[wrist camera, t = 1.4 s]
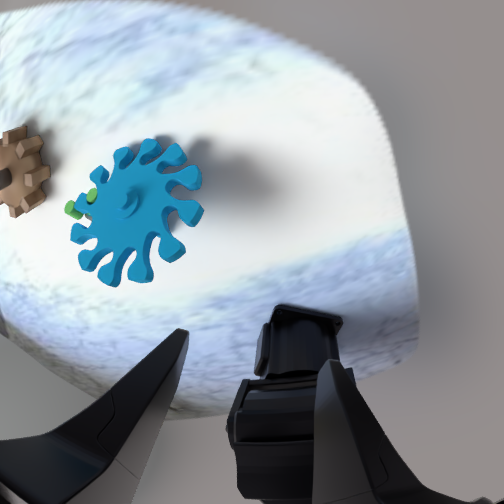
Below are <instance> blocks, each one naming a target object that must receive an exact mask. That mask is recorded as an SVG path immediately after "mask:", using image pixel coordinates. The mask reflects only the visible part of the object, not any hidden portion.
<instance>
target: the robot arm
mask: <svg viewBox="0 0 504 504" xmlns="http://www.w3.org/2000/svg"><path fill="white" fill-rule="evenodd" d="M278 310H280V312H279V311H278ZM336 322H338V323H336ZM342 325H343V320H342V318H341V317H337V316H332V315H326V314H321V313H316V312H311V311H306V310H301V309H296V308H291V307H287V306H282V305H277V306H275V307H274V309H273V312H272V314H271V317H270V320H269V322H268V323H265V324H264V325H263V327H262V330H261V333H260V336H259V338H258V342H257V350H256V359H255V367H254V374H255V375H256V376H260V379H259V380H250V379H243V380H242V383H241V385H240V387H239V389H238V392H237V395H236V397H235V400H234V403H233V405H232V408H231V411H230V413H229V416H228V419H227V425H226V432H227V433H228V438H229V442H230V445H231V448H232V449H233V450H234V452H235V456H236V463H237V488H238V489H239V491H240V493H241V494H242V496H243V497H244V498H245V499H257V500H260V501H261V502H262V503H263V504H504V498H503V499H501V500H499V501H497V502H495V503H493V502H492V501H491V500H489V499H487V498H485V497H480V498H477V499H475V500H473V501H470V502H464V501H461V500H458V499H455V498H452V497H449V496H446V495H444V494H441V493H438V492H436V491H433V490H431V489H429V488H427V487H426V486H424V485H423V484H422V483H421V482H420V481H419V480H418V479H417V477H416V476H415V475H414V473H413V472H412V471H411V470H410V468H409V467H408V466H407V465H406V463H405V462H404V461H403V460H402V458H401V457H400V455H399V454H398V453H397V451H396V450H395V448H394V447H393V445H392V444H391V442H390V441H389V439H388V437H387V436H386V435H385V433H384V431H383V429H382V428H381V426H380V424H379V423H378V421H377V420H376V418H375V416H374V415H373V413H372V412H371V410H370V408H369V407H368V405H367V404H366V402H365V400H364V399H363V397H362V396H361V394H360V392H359V391H358V389H357V387H356V382H355V378H354V373H353V369H352V367H351V368H346V369H344V367H343V366H342V364H341V362H340V357H339V351H338V344H337V338H336V335H337V333H338V332H339V330H340V328H341V327H342ZM188 344H189V331H187V330H184V329H180V328H178V329H176V330H175V331H174V332H173V333H171V334H170V335H169V336H168V337H167V338H166V339H165V340H164V341H163V342H161V343H160V344H159V345H158V346H157V347H156V348H155V349H154V350H152V351H151V352H150V353H149V354H148V355H147V356H146V357H145V358H144V359H142V360H141V361H140V362H139V363H138V364H137V365H136V366H135V367H133V368H132V369H131V370H130V371H129V372H128V373H127V374H126V375H124V376H123V377H122V378H121V379H120V380H119V381H118V382H117V383H115V384H114V385H113V386H112V387H111V388H110V389H111V390H110V389H109V390H107V391H106V392H105V393H104V394H103V395H102V396H101V397H99V398H98V399H97V400H96V401H95V402H93V403H92V404H91V405H89V406H88V407H87V408H85V409H84V410H82V411H81V412H80V413H78V414H77V415H75V416H73V417H72V418H70V419H69V420H67V421H66V422H64V423H63V424H61V425H59V426H58V427H56V428H55V429H53V430H51V431H49V432H47V433H45V434H41V435H37V436H31V437H24V438H17V439H9V440H0V504H131V502H132V500H133V497H134V494H135V492H136V489H137V486H138V484H139V481H140V479H141V476H142V474H143V471H144V469H145V466H146V463H147V461H148V459H149V456H150V453H151V451H152V448H153V446H154V444H155V441H156V439H157V436H158V434H159V431H160V429H161V426H162V424H163V421H164V419H165V417H166V414H167V412H168V409H169V407H170V404H171V402H172V400H173V397H174V395H175V392H176V390H177V387H178V383H179V380H180V376H181V372H182V369H183V365H184V361H185V358H186V354H187V350H188Z"/></svg>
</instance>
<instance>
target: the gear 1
mask: <svg viewBox="0 0 504 504" xmlns="http://www.w3.org/2000/svg"><path fill="white" fill-rule="evenodd" d="M43 144H44V143H43V141H42V140H41V138H40V136H39V135H37V136H34V137H31V138H27V126H24V127H18V128H15V129H12V130H9V131H6V132H3V138H2V139H0V205H1V204H3V203H5V204H6V205H8V206H9V212H10V216H11V217H14V218H17V217H18V216H20V215H21V214H23V213H24V212H25V213H28V212H29V211H31V210H32V209H34V208H35V207H37V206H38V205H40V204H41V203H43V201H44V200H45V198H46V196H45V194H44V193H43V191H42V189H41V185H42V181H44V180H46V179H48V178H49V177H50V166H48V165H42V161H41V157H40V154H39V150H40V148H41V147H42V145H43Z"/></svg>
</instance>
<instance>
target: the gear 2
mask: <svg viewBox="0 0 504 504" xmlns="http://www.w3.org/2000/svg"><path fill="white" fill-rule="evenodd" d="M161 151H162V147H161V146H160V145H159V143H158V142H157V141H156V140H154V139H145V140H144V141H143V142H142V144H141V147H140V150H139V153H138V155H137V156H136V158H135V159H134V160H133V162H132V163H131V164H130V165H129V166H128V167H127V165H128V164H129V163H130V162H131V161H132V159H133V157H134V153H133V152H132V151H131V150H130V148H129V147H122V148H120V149H117V150H116V151H115V152H114V155H113V158H114V162H115V165H114V170H113V173H112V175H111V178H110V179H109V181H108V182H107V180H108V178H109V172H108V171H107V170H106V169H105V168H104V167H103V166H102V165H100V166H99V167H97V168H96V169H95V170H94V171H93V172H92V173H91V174H90V180H91V181H93V182H94V183H95V184H96V187H97V189H96V188H92V189H91V190H90V191H89V192H88V194H85V193H81V194H80V195H79V197H78V198H77V200H76V202H74V201H72V200H70V201H69V202H68V203H67V204H66V206H65V213H66V214H68V215H70V216H72V217H73V218H75V219H77V220H79V219H81V218H82V217H83V215H84V214H85V217H86V218H87V219H89V220H91V221H92V223H91V225H90V226H89V227H88V228H87V227H85V226H83V225H81V224H79V223H75V224H74V225H73V226H72V230H71V239H70V240H71V241H73V242H75V243H77V244H80V245H81V244H84V243H85V242H86V241H87V240H89V239H92V238H97V239H98V243H97V246H96V247H95V249H93V250H82V251H81V252H80V253H79V255H78V260H79V264H80V266H81V268H82V270H85V271H88V272H92V271H94V270H95V269H96V267H97V265H98V263H99V262H100V260H101V259H102V258H103V257H104V256H105V255H107V254H109V253H110V252H113V258H112V260H111V262H109V263H108V264H106V265H104V266H102V267H101V268H100V269H99V271H98V276H97V277H98V278H99V279H100V281H102V282H103V283H105V284H106V285H108V286H112V287H117V286H118V285H119V284H120V282H121V274H122V269H123V266H124V264H125V262H126V260H127V259H128V257H129V256H130V255H131V253H132V252H133V251H135V250H136V252H137V255H136V259H135V260H134V261H133V263H132V264H131V265H130V267H129V269H128V273H127V275H128V279H129V280H131V281H135V282H138V283H148V282H152V280H153V277H154V273H153V269H152V267H151V264H150V259H149V254H150V248H151V244H152V241H153V239H154V238H155V237H156V236H157V237H159V238H161V240H160V244H159V249H158V252H159V255H160V257H161V258H162V259H163V260H165V261H167V262H169V263H171V262H174V261H176V260H177V259H179V258H180V257H181V256H182V255H184V254H185V253H186V249H185V246H184V245H183V244H182V243H181V242H180V241H179V240H177V239H176V238H174V237H173V236H172V234H171V232H170V230H169V227H168V223H167V217H168V215H169V214H170V213H171V212H172V211H174V210H178V214H179V217H180V219H181V220H182V221H183V222H184V223H185V224H186V225H188V226H190V227H195V226H196V225H197V224H198V222H199V221H200V219H201V217H202V215H203V212H204V209H203V208H202V207H201V205H200V204H199V203H198V202H197V201H195V200H178V199H175V198H173V197H172V196H171V195H170V193H171V190H172V189H173V187H175V186H176V185H183V186H185V187H186V188H187V189H189V190H192V191H194V190H198V189H200V187H201V183H202V175H201V171H200V170H199V168H198V167H197V166H196V165H190V166H187V167H186V168H184V169H182V170H180V171H178V172H175V173H171V174H162V172H163V170H164V169H165V168H167V167H169V166H180V165H183V164H184V163H185V162H186V161H187V157H186V155H185V154H184V152H183V150H182V149H181V147H180V146H179V145H178V144H177V143H174V144H172V145H170V146H169V147H168V148H167V150H166V151H165V152H164V153H163V154H162V155H161V156H160V157H159V158H158V159H156V160H155V161H153V162H151V163H149V164H147V165H145V164H146V163H147V162H148V161H149V160H150V159H153V158H155V157H156V156H158V155H159V154H160V153H161ZM126 167H127V168H126ZM125 168H126V169H125Z"/></svg>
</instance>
